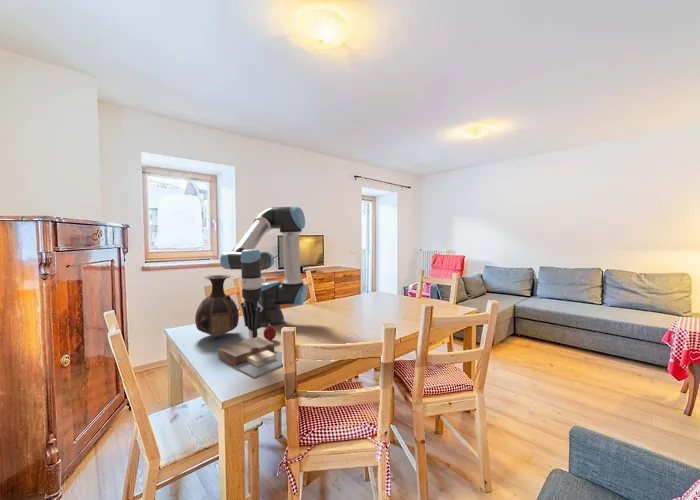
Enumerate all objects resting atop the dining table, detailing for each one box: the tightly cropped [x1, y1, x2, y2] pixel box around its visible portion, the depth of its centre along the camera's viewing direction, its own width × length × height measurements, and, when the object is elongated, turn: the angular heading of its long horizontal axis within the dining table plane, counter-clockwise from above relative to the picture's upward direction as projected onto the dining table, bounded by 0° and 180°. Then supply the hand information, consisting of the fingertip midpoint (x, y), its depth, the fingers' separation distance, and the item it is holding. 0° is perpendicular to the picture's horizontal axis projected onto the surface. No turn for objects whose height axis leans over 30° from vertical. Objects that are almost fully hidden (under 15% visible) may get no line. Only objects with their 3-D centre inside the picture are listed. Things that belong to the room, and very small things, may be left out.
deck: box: [217, 336, 275, 367], centre depth 128 cm, size 18×13×4 cm
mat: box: [233, 350, 284, 379], centre depth 120 cm, size 20×13×1 cm, turn 141°
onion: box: [263, 324, 277, 342], centre depth 144 cm, size 6×6×8 cm
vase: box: [194, 274, 240, 338], centre depth 150 cm, size 23×19×30 cm
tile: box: [247, 350, 276, 366], centre depth 122 cm, size 9×7×2 cm
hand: (253, 344), depth 126 cm, fingers closed
